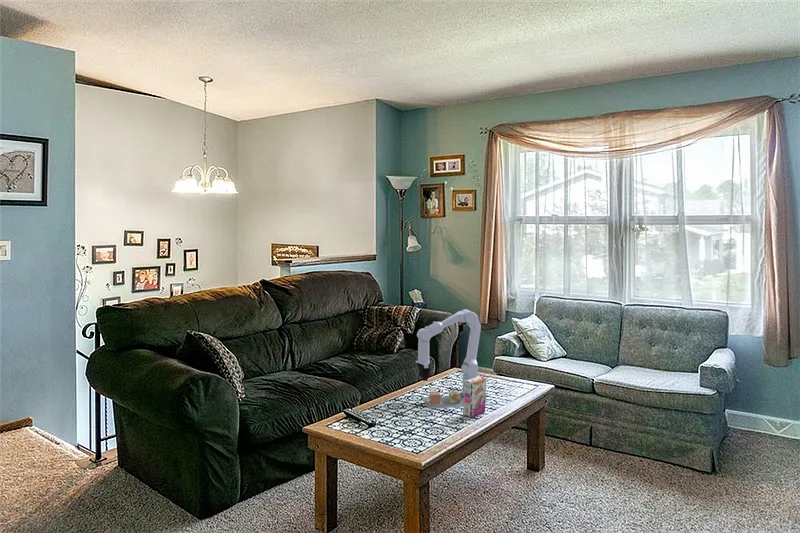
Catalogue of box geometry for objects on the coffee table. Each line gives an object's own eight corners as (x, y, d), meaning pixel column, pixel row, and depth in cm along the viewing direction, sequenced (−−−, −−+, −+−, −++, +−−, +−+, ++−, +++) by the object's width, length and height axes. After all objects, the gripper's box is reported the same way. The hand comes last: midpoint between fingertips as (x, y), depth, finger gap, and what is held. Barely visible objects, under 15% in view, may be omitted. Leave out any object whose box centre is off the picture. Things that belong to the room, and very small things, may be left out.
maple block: (457, 400, 277) (457, 391, 277) (460, 402, 273) (460, 393, 272) (449, 400, 276) (449, 391, 276) (451, 403, 272) (451, 394, 272)
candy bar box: (471, 418, 252) (471, 382, 251) (462, 415, 255) (463, 380, 254) (486, 412, 260) (486, 378, 258) (477, 409, 263) (478, 376, 262)
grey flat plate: (460, 396, 283) (460, 396, 283) (468, 406, 267) (468, 406, 267) (421, 398, 280) (421, 397, 280) (428, 408, 264) (428, 408, 264)
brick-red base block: (438, 400, 276) (438, 392, 275) (440, 403, 271) (440, 394, 271) (429, 401, 275) (429, 392, 274) (431, 404, 270) (431, 395, 270)
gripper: (413, 349, 287) (413, 375, 288) (418, 355, 273) (418, 382, 274) (426, 349, 288) (426, 374, 289) (432, 355, 274) (432, 382, 275)
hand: (423, 378), depth 281 cm, fingers open, 7 cm apart
